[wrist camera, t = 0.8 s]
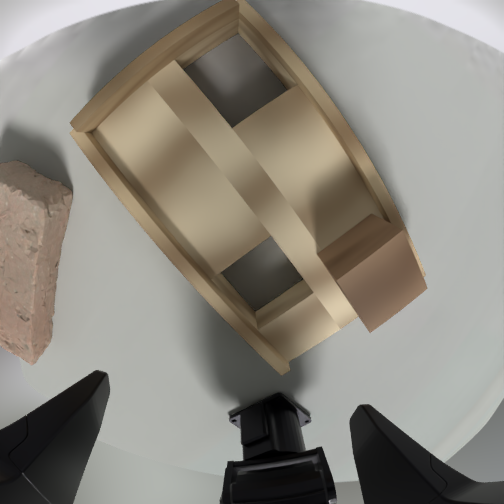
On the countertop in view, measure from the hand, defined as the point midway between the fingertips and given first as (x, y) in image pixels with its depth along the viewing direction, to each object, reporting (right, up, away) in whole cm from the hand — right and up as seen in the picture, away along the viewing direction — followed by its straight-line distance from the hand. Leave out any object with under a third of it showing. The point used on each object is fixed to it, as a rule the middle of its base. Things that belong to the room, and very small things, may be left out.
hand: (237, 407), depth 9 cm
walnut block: (+8, +5, +10) cm, 13 cm away
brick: (-20, +5, +11) cm, 23 cm away
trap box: (+1, +9, +11) cm, 14 cm away
